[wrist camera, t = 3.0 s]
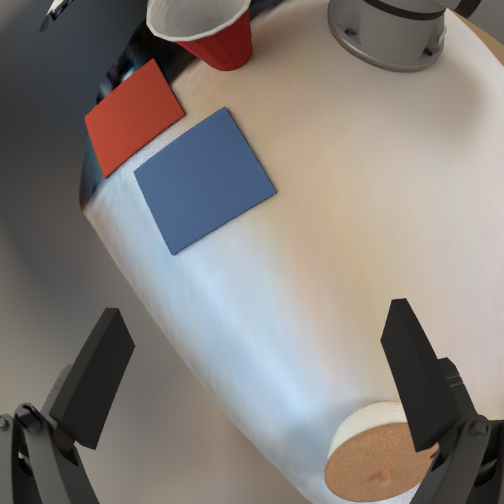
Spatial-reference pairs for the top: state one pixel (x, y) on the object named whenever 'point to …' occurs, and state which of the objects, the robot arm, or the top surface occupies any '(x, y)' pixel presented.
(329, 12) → the robot arm
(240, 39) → the plastic cup
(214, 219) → the blue mat
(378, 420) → the white bowl with cork
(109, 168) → the red mat
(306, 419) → the top surface
